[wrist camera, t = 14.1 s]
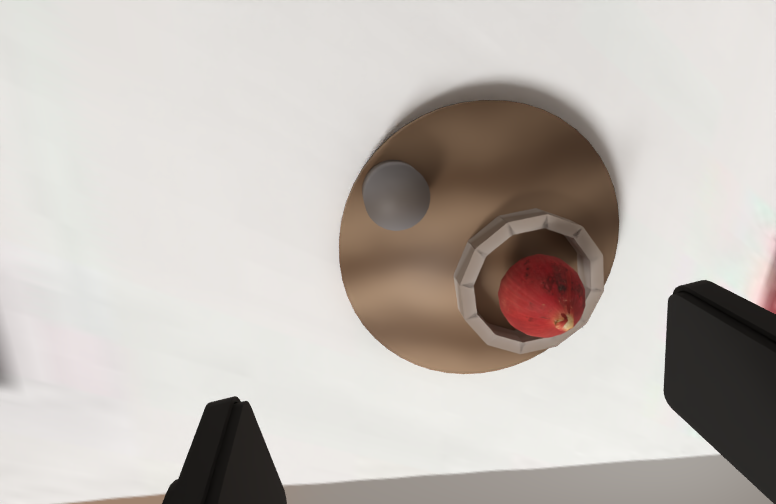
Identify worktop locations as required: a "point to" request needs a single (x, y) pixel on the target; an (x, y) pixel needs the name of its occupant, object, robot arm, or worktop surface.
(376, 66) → the worktop surface
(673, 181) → the worktop surface
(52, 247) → the worktop surface
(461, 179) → the carrier plate
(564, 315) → the red rounded piece
